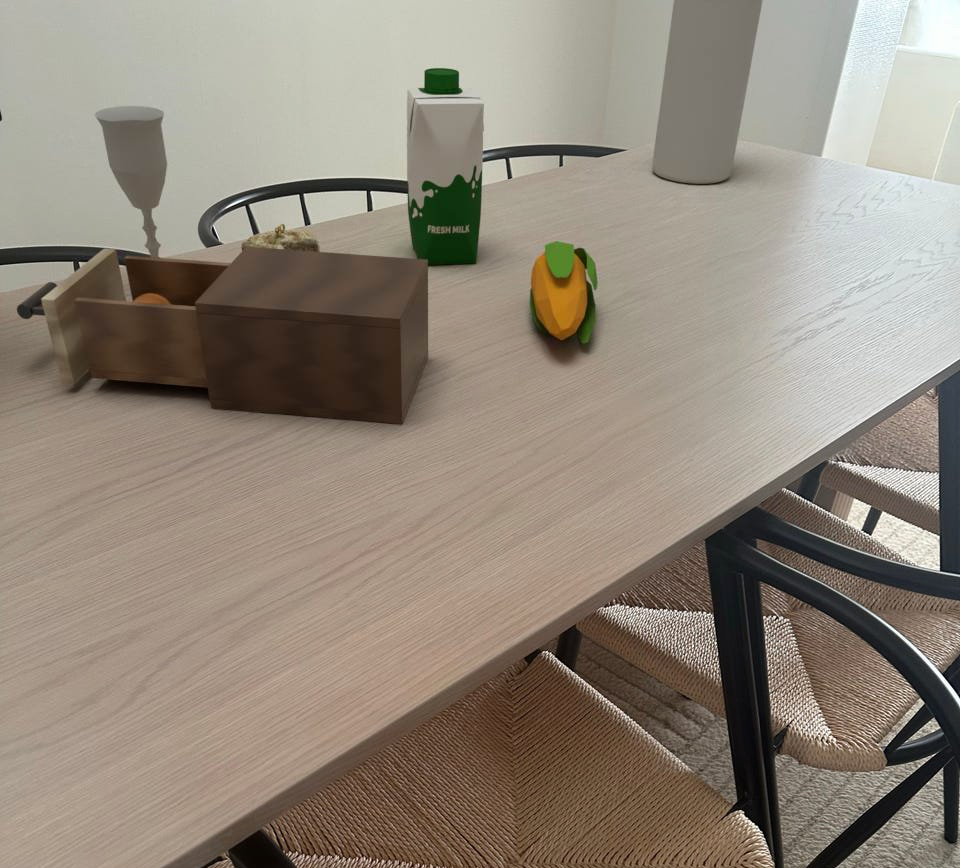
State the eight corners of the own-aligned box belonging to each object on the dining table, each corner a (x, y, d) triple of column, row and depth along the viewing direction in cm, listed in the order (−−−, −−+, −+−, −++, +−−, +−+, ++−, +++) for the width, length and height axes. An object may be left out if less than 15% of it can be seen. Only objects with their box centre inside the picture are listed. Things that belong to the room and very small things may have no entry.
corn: (595, 225, 110) (607, 290, 95) (592, 293, 115) (604, 365, 100) (528, 227, 111) (530, 292, 95) (529, 295, 116) (530, 367, 100)
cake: (226, 279, 117) (217, 231, 114) (274, 256, 124) (267, 210, 121) (296, 287, 113) (288, 239, 110) (342, 263, 120) (336, 216, 117)
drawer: (11, 379, 92) (-14, 294, 87) (74, 322, 102) (56, 244, 97) (237, 397, 90) (225, 313, 85) (277, 338, 100) (269, 260, 95)
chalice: (201, 293, 112) (174, 118, 100) (142, 305, 109) (108, 125, 97) (177, 273, 116) (149, 103, 105) (120, 284, 113) (85, 109, 102)
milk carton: (470, 242, 128) (475, 67, 116) (485, 266, 122) (491, 83, 109) (403, 244, 127) (400, 67, 114) (414, 269, 120) (413, 83, 107)
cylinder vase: (635, 171, 157) (658, -16, 141) (684, 159, 164) (711, -21, 148) (698, 190, 150) (729, -5, 134) (746, 176, 157) (781, -11, 141)
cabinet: (210, 408, 90) (194, 302, 84) (257, 343, 102) (246, 246, 95) (402, 424, 89) (400, 318, 83) (428, 357, 100) (428, 259, 94)
